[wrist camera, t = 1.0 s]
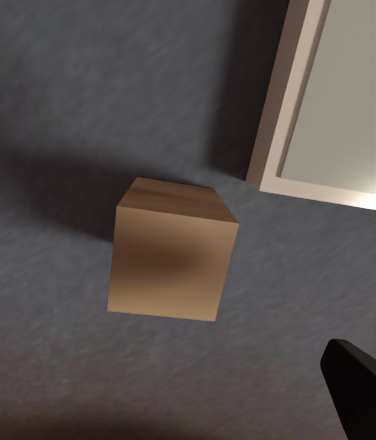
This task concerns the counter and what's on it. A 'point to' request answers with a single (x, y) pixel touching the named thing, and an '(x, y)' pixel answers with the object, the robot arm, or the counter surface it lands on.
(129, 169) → the counter surface
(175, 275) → the oak block
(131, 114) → the counter surface
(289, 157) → the tile base
